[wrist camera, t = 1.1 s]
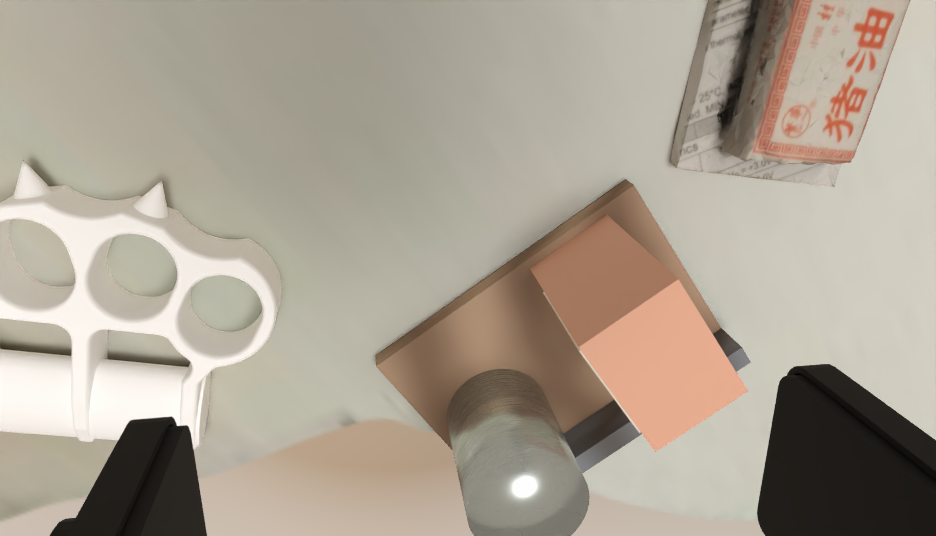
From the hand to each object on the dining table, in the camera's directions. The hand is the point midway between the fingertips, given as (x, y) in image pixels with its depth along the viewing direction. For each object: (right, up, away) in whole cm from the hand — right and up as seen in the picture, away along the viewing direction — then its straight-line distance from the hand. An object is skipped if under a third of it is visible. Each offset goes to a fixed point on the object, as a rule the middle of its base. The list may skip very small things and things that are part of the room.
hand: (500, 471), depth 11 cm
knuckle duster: (-20, +2, +26) cm, 32 cm away
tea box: (+7, +2, +28) cm, 29 cm away
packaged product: (+16, +17, +26) cm, 35 cm away
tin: (+1, -5, +30) cm, 30 cm away
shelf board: (+5, -1, +30) cm, 31 cm away
